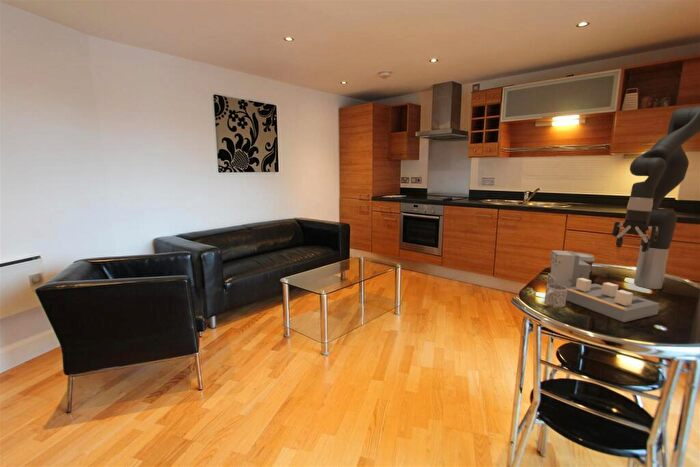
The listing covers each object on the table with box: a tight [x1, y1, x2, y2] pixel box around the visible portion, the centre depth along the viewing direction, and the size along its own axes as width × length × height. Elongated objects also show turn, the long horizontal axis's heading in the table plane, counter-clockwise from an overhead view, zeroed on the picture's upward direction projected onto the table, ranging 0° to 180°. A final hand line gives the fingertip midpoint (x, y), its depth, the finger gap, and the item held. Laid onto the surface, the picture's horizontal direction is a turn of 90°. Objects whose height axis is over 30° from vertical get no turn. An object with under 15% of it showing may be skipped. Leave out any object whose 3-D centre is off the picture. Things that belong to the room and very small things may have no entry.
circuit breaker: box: [546, 249, 593, 288], centre depth 145 cm, size 8×14×15 cm, turn 78°
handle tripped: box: [601, 281, 619, 297], centre depth 126 cm, size 3×4×4 cm
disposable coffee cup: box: [575, 252, 596, 271], centre depth 154 cm, size 10×10×12 cm
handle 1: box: [575, 278, 592, 292], centre depth 131 cm, size 3×4×4 cm
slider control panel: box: [566, 283, 661, 323], centre depth 127 cm, size 18×22×4 cm
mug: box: [544, 284, 567, 308], centre depth 127 cm, size 10×7×7 cm
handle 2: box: [614, 289, 634, 306], centre depth 118 cm, size 3×4×4 cm
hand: (631, 249), depth 139 cm, fingers open, 8 cm apart
